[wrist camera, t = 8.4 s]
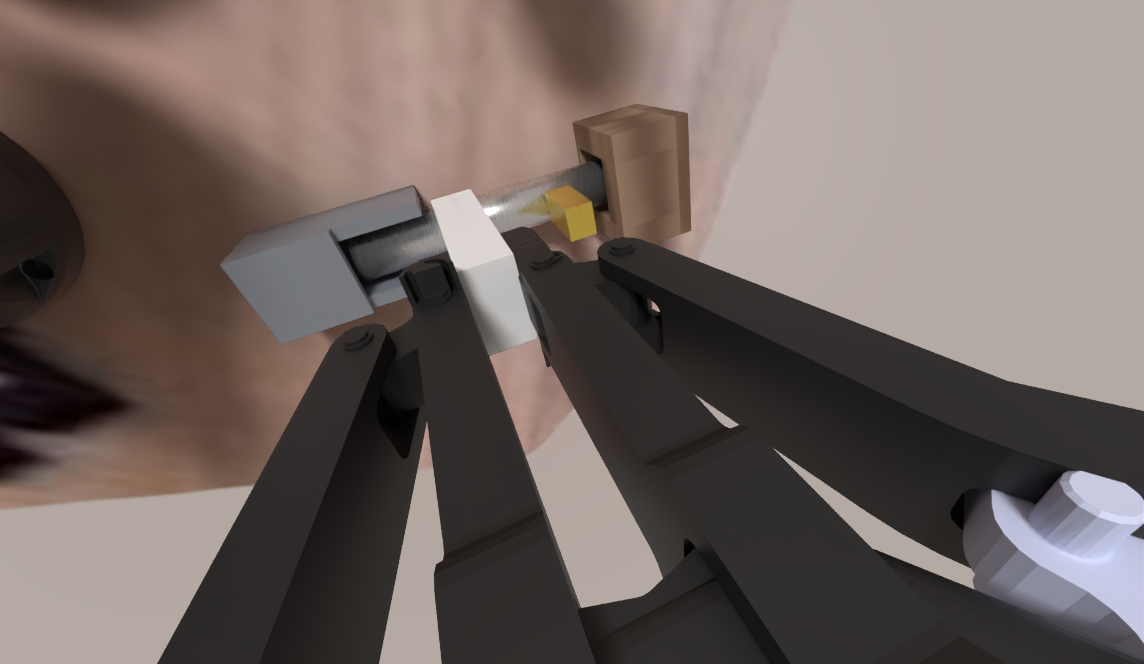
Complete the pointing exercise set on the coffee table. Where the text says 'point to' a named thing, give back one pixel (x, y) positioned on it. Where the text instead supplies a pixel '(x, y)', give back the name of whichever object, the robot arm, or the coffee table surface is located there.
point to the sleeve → (317, 266)
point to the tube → (522, 204)
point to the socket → (640, 171)
